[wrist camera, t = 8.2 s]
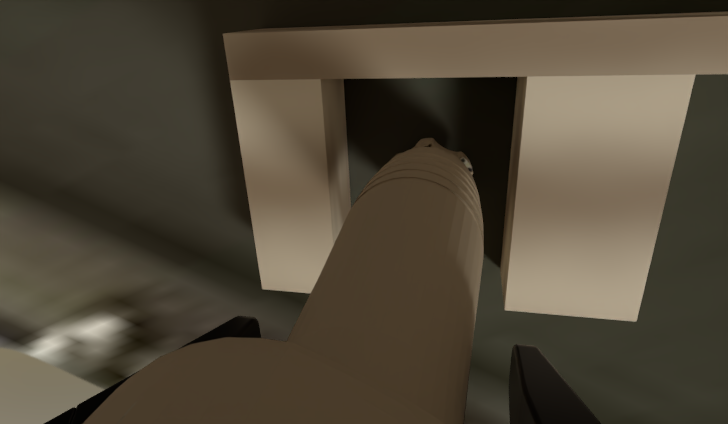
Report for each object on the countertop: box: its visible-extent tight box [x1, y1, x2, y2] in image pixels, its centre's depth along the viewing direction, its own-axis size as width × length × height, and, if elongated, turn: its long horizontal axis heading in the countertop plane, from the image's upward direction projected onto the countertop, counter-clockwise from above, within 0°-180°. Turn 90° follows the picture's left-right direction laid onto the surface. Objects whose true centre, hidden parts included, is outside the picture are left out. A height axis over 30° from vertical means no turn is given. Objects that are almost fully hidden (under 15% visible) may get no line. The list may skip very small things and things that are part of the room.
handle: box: [83, 138, 484, 424], centre depth 12 cm, size 5×6×15 cm
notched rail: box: [223, 11, 728, 322], centre depth 16 cm, size 10×24×3 cm, turn 93°
